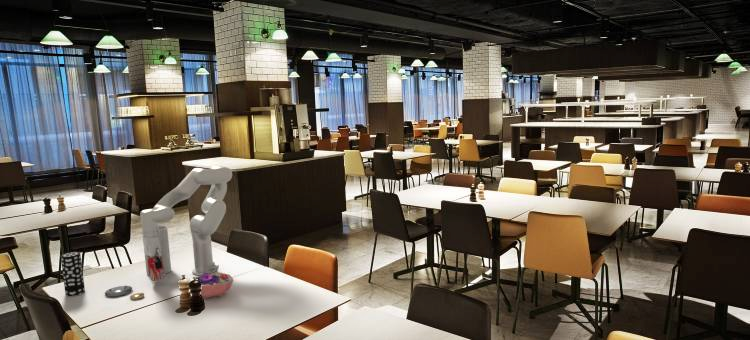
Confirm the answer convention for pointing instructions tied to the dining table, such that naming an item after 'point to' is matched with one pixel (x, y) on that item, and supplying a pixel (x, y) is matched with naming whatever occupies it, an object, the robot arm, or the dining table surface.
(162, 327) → the dining table surface
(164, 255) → the cylinder vase
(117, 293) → the disc
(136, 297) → the disc
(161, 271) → the soda can
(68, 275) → the white-spotted black cylinder
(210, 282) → the cell model
